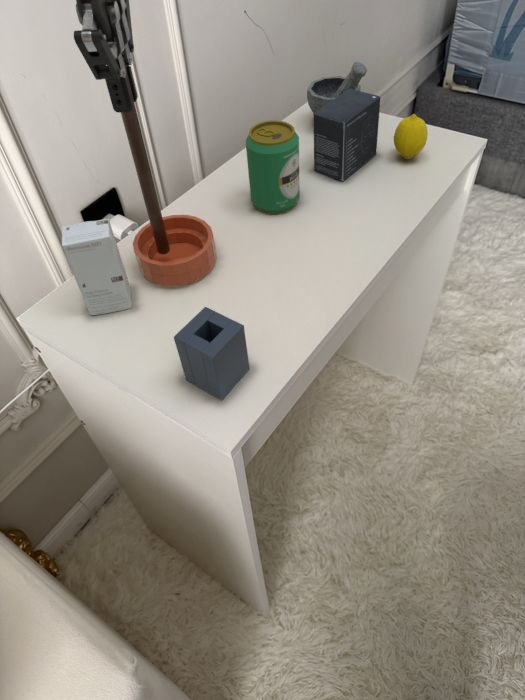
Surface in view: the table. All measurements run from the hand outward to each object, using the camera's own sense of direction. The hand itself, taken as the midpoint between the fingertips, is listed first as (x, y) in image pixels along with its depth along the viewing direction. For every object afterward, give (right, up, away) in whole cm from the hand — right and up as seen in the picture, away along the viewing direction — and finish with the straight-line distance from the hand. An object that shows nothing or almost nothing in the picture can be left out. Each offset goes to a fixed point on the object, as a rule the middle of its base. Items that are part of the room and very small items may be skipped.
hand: (126, 105), depth 60 cm
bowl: (+3, -15, +18) cm, 24 cm away
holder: (+10, -31, +4) cm, 33 cm away
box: (+30, +5, +33) cm, 45 cm away
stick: (+1, -14, +16) cm, 21 cm away
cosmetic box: (-5, -21, +14) cm, 26 cm away
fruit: (+41, +6, +33) cm, 53 cm away
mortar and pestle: (+30, +16, +42) cm, 54 cm away
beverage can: (+18, -4, +27) cm, 32 cm away
